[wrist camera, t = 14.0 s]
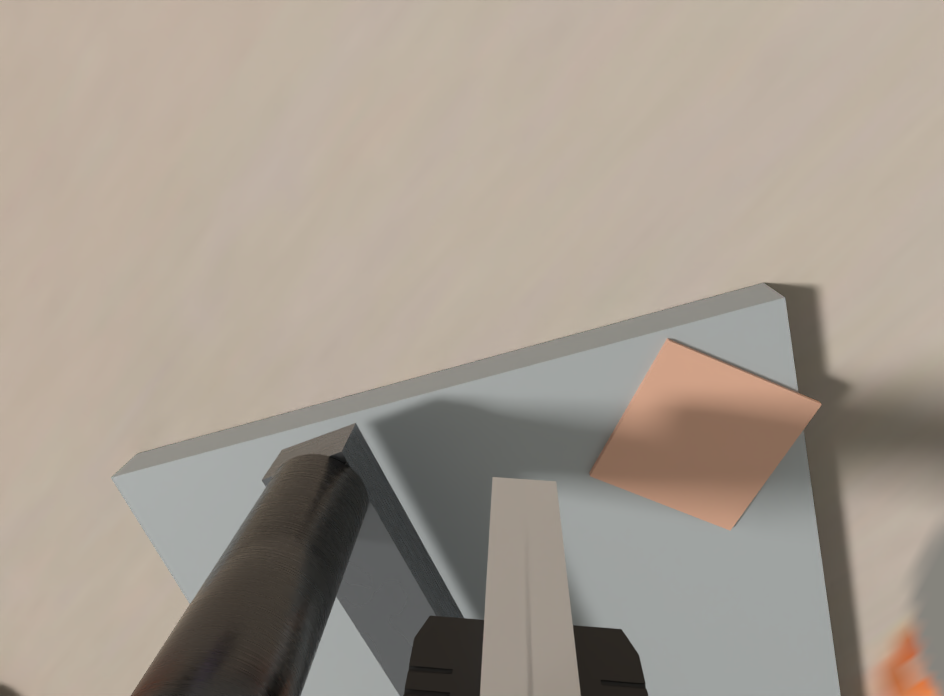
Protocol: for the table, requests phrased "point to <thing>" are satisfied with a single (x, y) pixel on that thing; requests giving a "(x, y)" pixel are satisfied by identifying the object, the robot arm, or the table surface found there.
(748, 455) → the plate
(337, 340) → the table surface
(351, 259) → the table surface
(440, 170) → the table surface
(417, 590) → the lever
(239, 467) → the board
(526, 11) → the table surface
